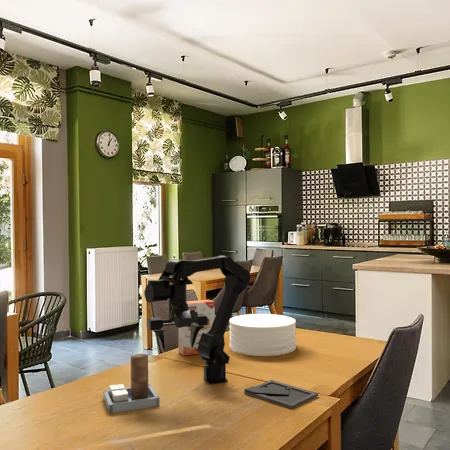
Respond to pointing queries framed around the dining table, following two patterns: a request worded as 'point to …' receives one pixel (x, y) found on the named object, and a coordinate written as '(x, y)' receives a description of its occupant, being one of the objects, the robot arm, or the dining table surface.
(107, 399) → the parts tray
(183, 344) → the cracker box
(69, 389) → the dining table surface
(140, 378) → the walnut dowel
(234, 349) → the plate stack
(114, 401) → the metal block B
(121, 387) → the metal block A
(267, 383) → the picture frame
